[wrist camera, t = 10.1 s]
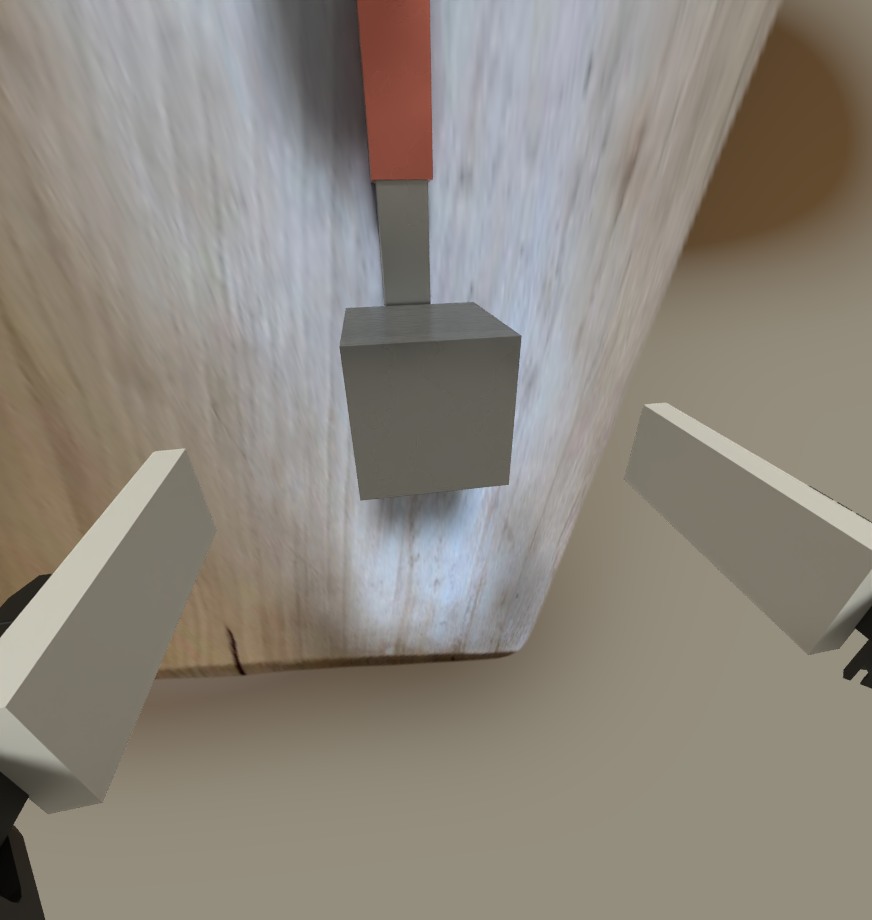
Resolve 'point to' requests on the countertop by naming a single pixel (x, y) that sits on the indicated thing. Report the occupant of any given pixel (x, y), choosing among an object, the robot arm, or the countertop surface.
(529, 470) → the countertop surface
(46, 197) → the countertop surface
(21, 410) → the countertop surface
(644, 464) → the robot arm
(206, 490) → the countertop surface
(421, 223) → the ratchet
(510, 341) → the brushed steel cube
